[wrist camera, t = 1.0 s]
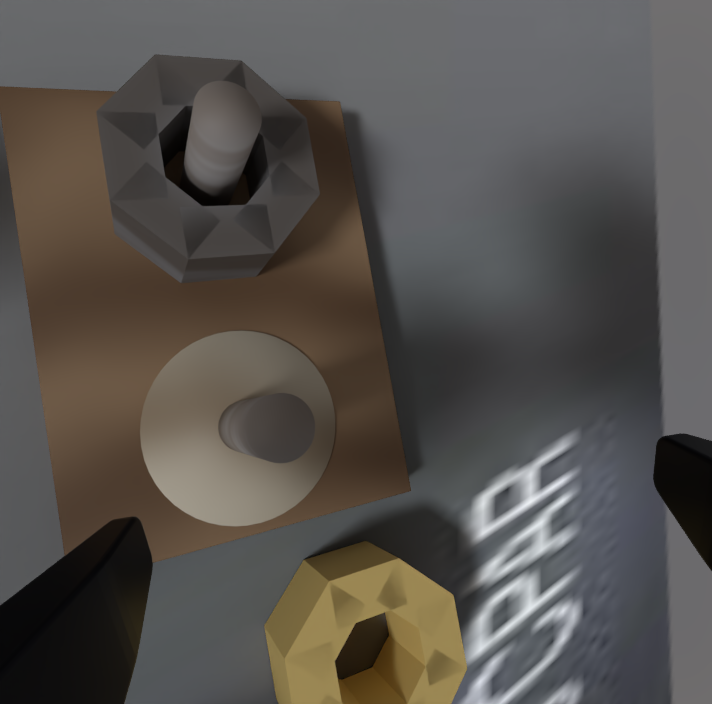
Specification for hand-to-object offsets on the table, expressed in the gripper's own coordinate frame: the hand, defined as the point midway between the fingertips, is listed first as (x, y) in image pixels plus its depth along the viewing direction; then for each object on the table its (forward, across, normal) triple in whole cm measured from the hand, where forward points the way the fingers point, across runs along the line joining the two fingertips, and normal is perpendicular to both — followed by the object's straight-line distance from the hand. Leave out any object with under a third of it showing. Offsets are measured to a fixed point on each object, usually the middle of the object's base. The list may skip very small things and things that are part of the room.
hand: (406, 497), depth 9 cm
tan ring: (+8, +2, +12) cm, 15 cm away
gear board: (+12, +5, 0) cm, 13 cm away
